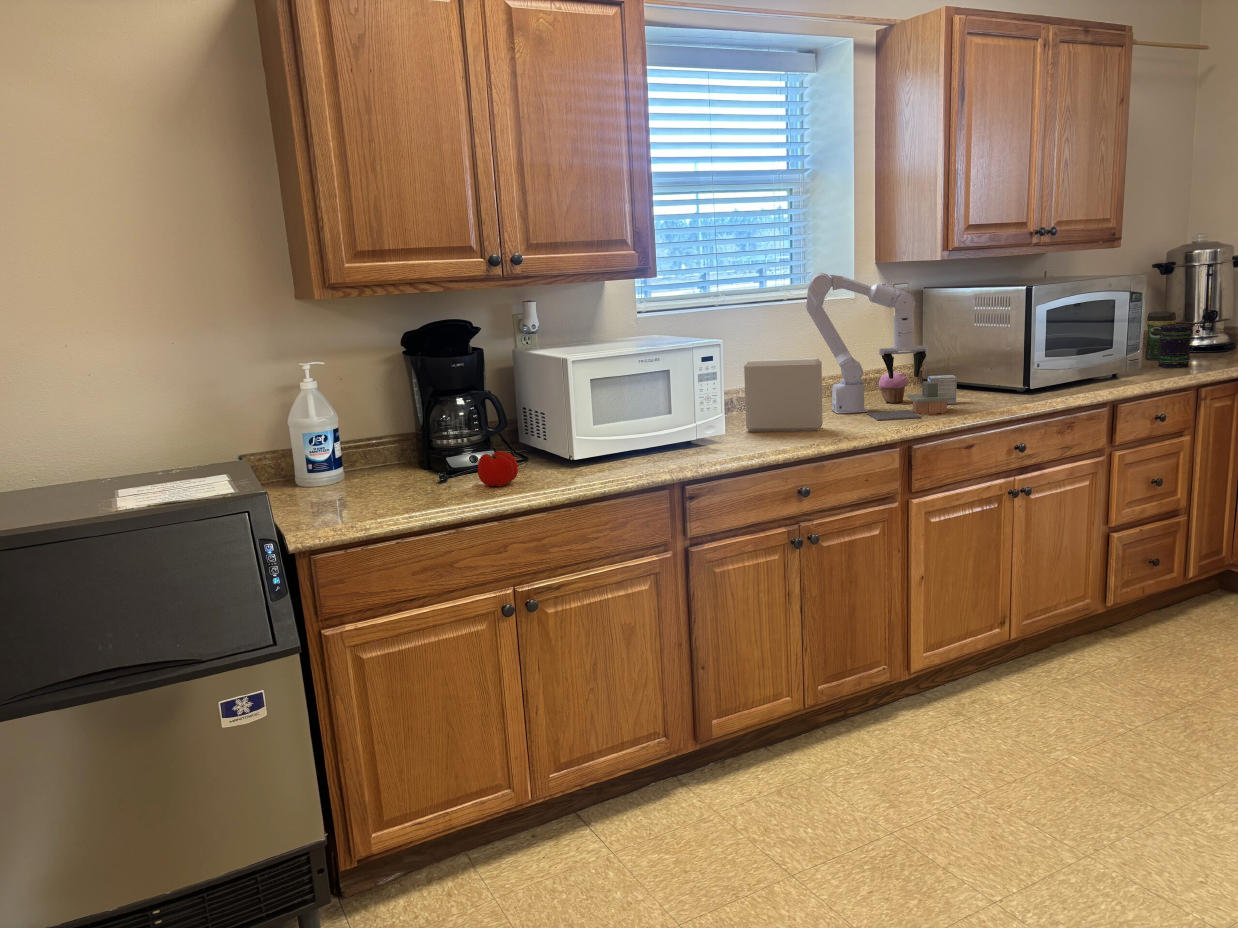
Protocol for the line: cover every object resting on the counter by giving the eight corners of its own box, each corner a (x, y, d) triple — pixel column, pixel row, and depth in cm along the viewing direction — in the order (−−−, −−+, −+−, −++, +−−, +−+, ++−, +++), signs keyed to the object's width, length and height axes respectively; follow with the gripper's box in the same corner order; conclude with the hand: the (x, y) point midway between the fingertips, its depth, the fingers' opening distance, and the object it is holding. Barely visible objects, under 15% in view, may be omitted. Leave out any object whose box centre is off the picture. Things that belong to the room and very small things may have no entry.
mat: (877, 420, 260) (877, 419, 260) (866, 414, 273) (866, 412, 272) (921, 418, 260) (920, 416, 260) (908, 411, 272) (908, 410, 272)
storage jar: (1163, 364, 336) (1166, 324, 333) (1193, 365, 328) (1196, 324, 325) (1153, 367, 330) (1155, 326, 326) (1182, 369, 322) (1185, 327, 319)
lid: (917, 402, 264) (917, 385, 263) (905, 397, 275) (905, 381, 274) (954, 399, 263) (955, 383, 262) (942, 394, 274) (942, 379, 273)
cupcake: (913, 402, 288) (913, 371, 286) (892, 405, 285) (892, 374, 283) (893, 399, 296) (893, 369, 294) (872, 402, 293) (872, 372, 291)
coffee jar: (1177, 358, 349) (1180, 310, 346) (1167, 361, 345) (1170, 312, 341) (1151, 357, 357) (1153, 310, 353) (1141, 360, 353) (1143, 312, 349)
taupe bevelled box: (823, 426, 257) (822, 356, 253) (821, 431, 250) (820, 359, 245) (749, 427, 263) (747, 359, 259) (745, 432, 256) (743, 362, 252)
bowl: (919, 414, 266) (919, 401, 265) (910, 410, 274) (910, 397, 274) (949, 412, 265) (950, 399, 265) (939, 408, 274) (939, 395, 273)
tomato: (479, 490, 206) (476, 459, 205) (479, 482, 215) (476, 451, 213) (520, 486, 208) (517, 455, 206) (518, 478, 216) (515, 448, 215)
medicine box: (952, 402, 284) (953, 374, 282) (956, 404, 280) (957, 376, 278) (927, 403, 285) (927, 376, 283) (930, 405, 281) (930, 377, 279)
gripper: (883, 335, 267) (883, 380, 270) (932, 332, 267) (931, 377, 270) (876, 333, 274) (877, 377, 277) (924, 330, 274) (924, 375, 277)
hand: (903, 377), depth 274 cm, fingers open, 7 cm apart
